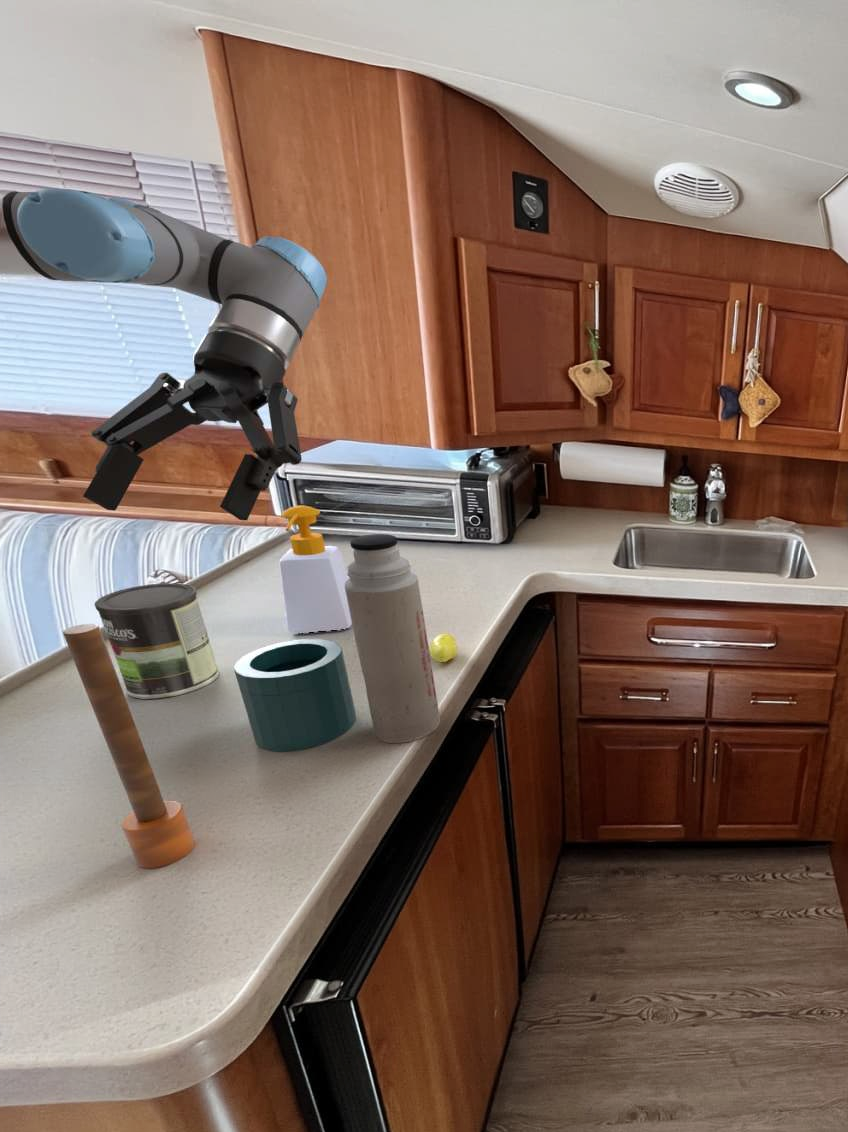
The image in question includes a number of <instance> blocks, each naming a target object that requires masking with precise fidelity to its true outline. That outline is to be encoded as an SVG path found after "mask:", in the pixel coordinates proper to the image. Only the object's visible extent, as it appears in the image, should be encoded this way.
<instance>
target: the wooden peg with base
mask: <svg viewBox="0 0 848 1132" xmlns="http://www.w3.org/2000/svg"><path fill="white" fill-rule="evenodd" d="M62 634H63V637H64V639H65V642H66V644H67V648H68V649H69V652H70V655H71V657H72V660H73V662H74V665H75V667H76V669H77V672H78V675H79V677H80V679H81V680H80V681H81V682H82V685H83V688H84V689H85V693H86V695H87V697H88V700H89V703H90V704H91V708H92V710H93V713H94V716H95V717H96V720H97V723H98V726H99V728H100V730H101V733H102V736H103V738H104V740H105V743H106V745H107V748H108V751H109V753H110V756H111V758H112V760H113V763H114V766H115V768H116V771H117V774H118V776H119V778H120V781H121V783H122V786H123V789H124V792H125V794H126V796H127V799H128V801H129V804H130V806H131V808H132V812H131V813H129V814H128V815H127V816H126V817H124V819H123V821H122V822H121V828H122V831H123V833H124V835H125V838H126V840H127V843H128V845H129V847H130V850H131V852H132V855H133V858H134V860H135V862H136V865H137V866H138V867H140V868H142V869H157V868H161V867H162V868H163V867H165V866H169V865H172V864H173V863H175V862H178V861H180V860H181V859H183V858H184V857H186V856H187V855H189V853H191V851H192V850H194V847H195V843H196V842H195V838H194V836H193V833H192V831H191V829H190V825H189V822H188V819H187V816H186V814H185V811H184V808H183V805H182V803H180V802H178V801H177V800H176V801H175V800H164V798H163V795H162V793H161V792H162V791H161V790H160V786H159V784H158V781H157V779H156V777H155V773H154V771H153V768H152V765H151V763H150V760H149V757H148V755H147V752H146V749H145V746H144V744H143V741H142V739H141V736H140V734H139V731H138V728H137V725H136V723H135V720H134V717H133V714H132V711H131V709H130V706H129V704H128V701H127V698H126V696H125V693H124V689H123V687H122V685H121V682H120V680H119V676H118V674H117V670H116V668H115V665H114V663H113V661H112V658H111V655H110V652H109V649H108V647H107V644H106V642H105V639H104V636H103V633H102V631H101V628H100V626H99V624H96V623H84V624H78V625H73V626H71V627H68V628H66V629H64V630H63V631H62Z"/></svg>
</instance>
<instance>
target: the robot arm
mask: <svg viewBox="0 0 848 1132" xmlns="http://www.w3.org/2000/svg"><path fill="white" fill-rule="evenodd" d="M0 279H3V280H5V279H6V280H32V281H33V280H36V281H37V280H39V281H62V282H77V283H78V282H79V283H81V282H84V283H104V284H105V283H107V284H130V285H142V286H151V287H161V288H162V287H163V288H172V289H176V290H179V291H182V292H185V293H187V294H191V295H193V296H197V297H199V298H203V299H206V300H208V301H211V302H214V303H217V304H219V305H221V306H220V307H219V309H218V311H217V313H216V314H215V316H214V318H213V319H212V321H211V323H210V324H209V325H208V329H207V333H206V334H204V336H203V338H202V339H201V342H200V344H199V345H198V347H197V349H196V350H195V352H194V354H193V357H192V361H193V366H194V373H193V374H192V375H191V376H190V377H189V378H187V379H186V380H184V379H177V378H175V377H173V376H172V375H171V374H170V373H169V372H161V373H160V374H159V375H157V377H156V378H155V379H154V381H153V382H152V383H151V385H150V386H149V387H148V388H147V389H145V390H144V391H143V392H142V393H140V394H139V395H138V396H137V397H135V398H134V399H132V400H131V401H130V402H128V403H127V404H126V405H125V406H124V407H122V408H121V409H119V410H118V411H117V412H116V413H114V414H113V415H112V416H110V417H109V418H108V419H107V420H105V421H104V422H102V423H101V424H100V425H98V426H97V427H96V428H95V429H93V430H92V432H91V436H92V437H93V438H95V439H96V440H97V441H99V442H101V443H102V444H104V445H106V449H105V451H104V453H103V454H102V456H101V457H100V460H99V461H98V463H97V464H96V466H95V472H96V473H95V474H94V476H93V478H92V480H91V482H90V483H89V485H88V486H87V488H86V490H85V491H84V493H83V495H82V497H83V498H85V499H87V500H89V501H91V502H92V503H94V504H96V505H98V506H99V507H102V508H103V509H105V510H107V511H114V512H115V511H116V510H117V509H118V507H119V505H120V504H121V501H122V500H123V498H124V496H125V494H126V493H127V490H128V489H129V487H130V485H131V483H132V481H133V480H134V479H135V476H136V475H137V473H138V471H139V469H140V467H141V465H142V464H143V462H144V458H142V457H141V456H139V455H140V454H142V453H144V452H145V451H147V450H149V449H151V448H152V447H154V446H156V445H157V444H160V443H161V442H163V441H165V440H166V439H168V438H170V437H172V436H173V435H175V434H177V433H179V432H180V431H183V430H184V429H187V428H188V427H189V426H192V425H194V426H199V425H201V424H203V423H205V422H214V423H215V422H223V421H224V422H226V423H229V424H236V423H237V422H238V423H239V425H240V427H241V430H242V431H243V433H244V434H245V437H246V438H247V440H248V442H249V444H250V446H251V448H250V451H251V452H253V453H254V454H255V455H256V456H255V455H253V454H249V453H248V454H246V453H245V454H244V455H243V458H242V460H241V461H240V463H239V466H238V468H237V470H236V472H235V474H234V476H233V479H232V481H231V483H230V484H229V486H228V489H227V491H226V493H225V495H224V497H223V499H222V501H221V503H220V505H219V508H221V509H223V510H224V511H226V512H227V513H229V514H230V515H231V516H233V517H235V518H236V519H238V520H239V521H248V519H249V517H250V515H251V513H252V511H253V509H254V506H255V504H256V502H257V500H258V498H259V496H260V493H261V492H265V491H266V490H267V489H268V488H269V486H270V484H271V481H272V479H273V477H274V474H275V473H276V470H277V469H279V468H281V467H282V466H283V465H284V464H291V465H295V466H296V465H299V464H300V463H301V462H302V460H303V459H302V453H301V447H300V440H299V434H298V427H297V423H296V417H295V410H296V407H297V405H298V401H299V400H298V397H297V396H296V395H295V394H294V393H293V392H292V391H291V390H290V389H289V388H288V387H287V386H286V385H285V384H284V383H283V382H282V381H283V379H284V378H285V375H286V370H287V369H288V368H289V366H290V363H291V362H292V360H293V357H294V355H295V353H296V351H297V350H298V348H299V346H300V344H301V341H302V339H303V336H304V335H305V333H306V331H307V328H308V327H309V325H310V323H311V321H312V319H313V318H314V315H315V313H316V312H317V310H318V309H319V308H320V306H321V299H322V297H323V294H324V291H325V288H326V286H327V282H328V277H327V274H326V272H325V268H324V267H323V266H322V264H321V263H320V261H319V260H318V259H317V258H316V257H315V256H314V255H313V254H312V253H310V252H309V251H308V250H307V249H306V248H304V247H302V246H301V245H299V244H298V243H295V242H294V241H292V240H289V239H286V238H283V237H272V236H263V237H261V238H260V239H259V240H258V241H257V242H255V243H254V244H253V245H252V246H248V245H246V244H243V243H241V242H237V241H234V240H231V239H228V238H224V237H222V236H220V235H217V234H214V233H213V232H210V231H208V230H205V229H202V228H200V227H199V226H195V225H193V224H191V223H188V222H186V221H183V220H181V219H178V218H175V217H173V216H171V215H169V214H166V213H164V212H162V211H160V210H159V209H156V208H153V207H150V206H147V205H144V204H142V203H137V202H134V201H131V200H127V199H125V198H122V197H115V196H113V197H108V198H106V197H103V196H101V195H98V194H96V193H93V192H89V191H84V190H77V189H70V188H69V189H68V188H67V189H66V188H60V187H51V188H50V187H49V188H42V189H40V190H36V191H17V190H13V189H12V190H11V189H0ZM187 403H188V404H189V407H190V409H192V411H193V412H192V411H191V410H190V409H189V408H187V407H186V406H185V404H187ZM266 405H267V408H268V413H269V420H270V421H269V422H270V428H271V433H272V438H271V437H270V435H269V433H268V432H267V430H266V428H265V426H264V425H265V423H264V421H263V419H262V417H261V415H260V414H259V412H258V410H260V409H261V408H263V407H264V406H266ZM272 440H273V441H272Z"/></svg>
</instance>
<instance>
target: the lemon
mask: <svg viewBox="0 0 848 1132" xmlns="http://www.w3.org/2000/svg"><path fill="white" fill-rule="evenodd" d="M458 648H459V647H458V645H457V641H456V638H455V637H454V636H453V635H452V634H450V633H441V634H439V635H436V637H434V638H433V640H432V641H431V642H430V645H429V653H430V657H432V658H433V659H434V660H435V661H436V662H439V663H446V662H447V661H450V660H453V659H455V658H456V656H457V652H458Z"/></svg>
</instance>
